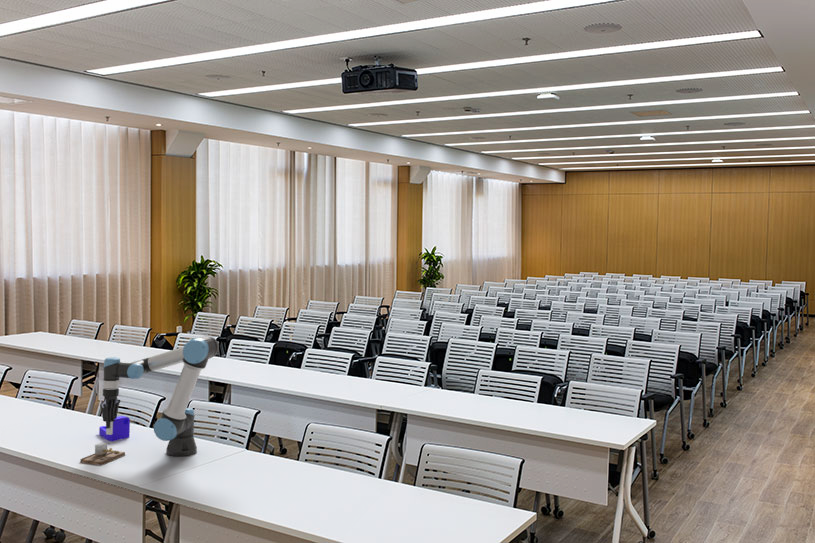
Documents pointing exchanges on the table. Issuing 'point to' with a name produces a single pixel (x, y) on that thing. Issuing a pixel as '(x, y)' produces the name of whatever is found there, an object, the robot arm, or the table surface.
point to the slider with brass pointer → (102, 449)
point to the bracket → (117, 429)
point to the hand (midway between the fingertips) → (109, 434)
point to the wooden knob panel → (102, 458)
